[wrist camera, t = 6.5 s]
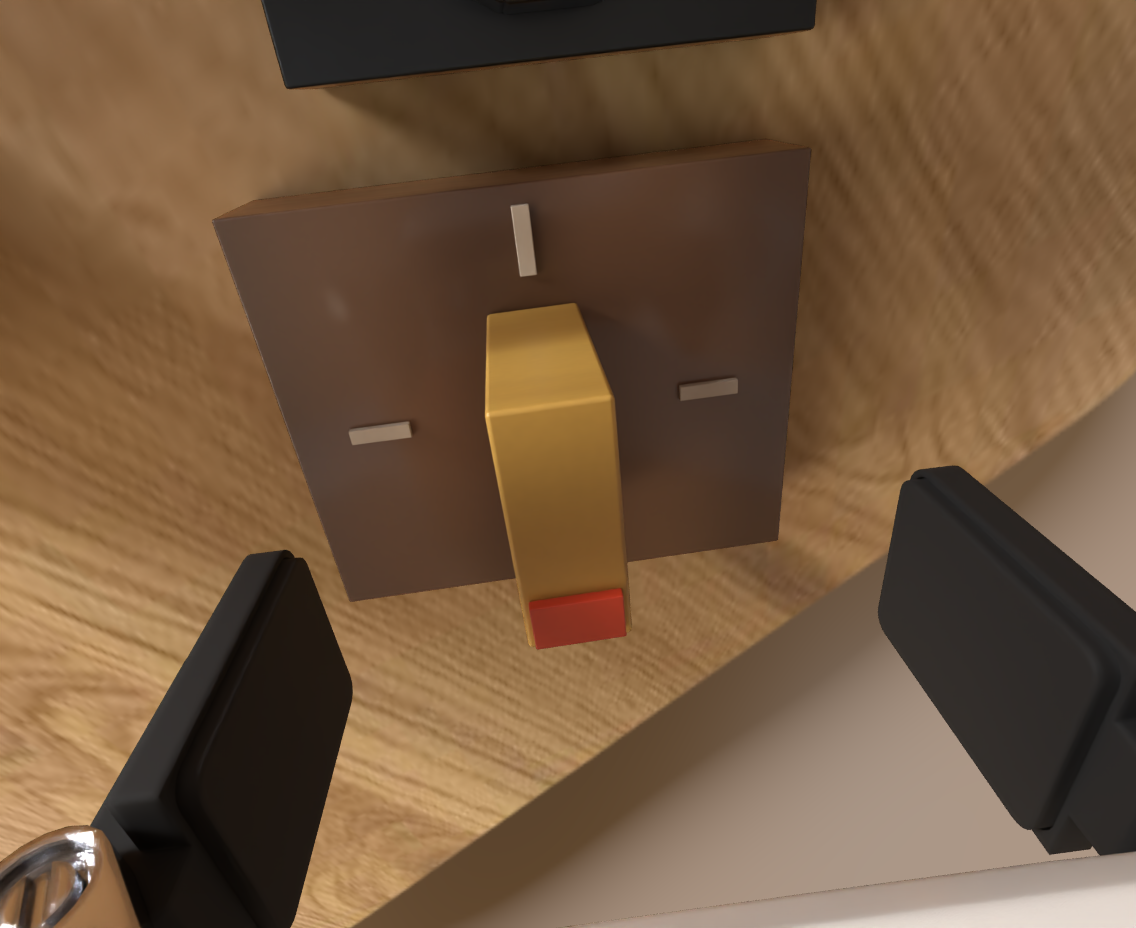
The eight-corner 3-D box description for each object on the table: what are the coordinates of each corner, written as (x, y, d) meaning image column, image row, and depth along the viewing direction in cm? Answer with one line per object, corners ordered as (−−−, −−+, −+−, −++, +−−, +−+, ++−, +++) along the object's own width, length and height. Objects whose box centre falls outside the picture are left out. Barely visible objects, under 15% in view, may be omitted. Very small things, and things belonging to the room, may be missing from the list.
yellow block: (486, 313, 14) (483, 421, 9) (577, 301, 14) (618, 402, 10) (519, 503, 17) (529, 659, 12) (596, 492, 17) (635, 643, 12)
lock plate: (767, 138, 15) (815, 147, 13) (748, 492, 20) (780, 544, 18) (251, 200, 15) (207, 221, 12) (364, 546, 20) (348, 607, 18)
